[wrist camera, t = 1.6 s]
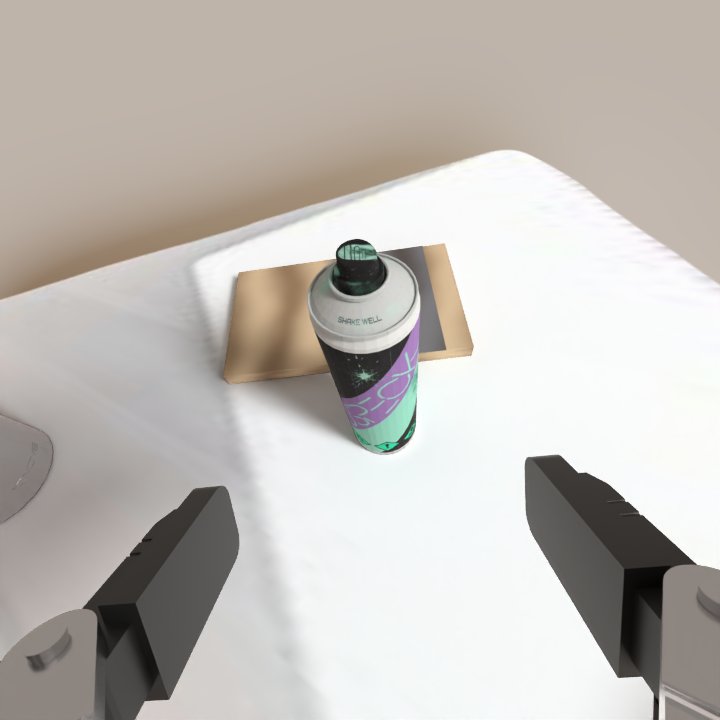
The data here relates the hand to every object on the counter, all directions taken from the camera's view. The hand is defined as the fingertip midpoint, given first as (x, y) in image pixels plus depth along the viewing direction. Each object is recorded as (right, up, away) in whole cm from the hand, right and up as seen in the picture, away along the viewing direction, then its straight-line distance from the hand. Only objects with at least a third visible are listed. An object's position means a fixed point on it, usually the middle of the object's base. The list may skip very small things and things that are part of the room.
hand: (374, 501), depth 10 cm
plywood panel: (-2, +9, +29) cm, 30 cm away
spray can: (+2, -2, +22) cm, 22 cm away
